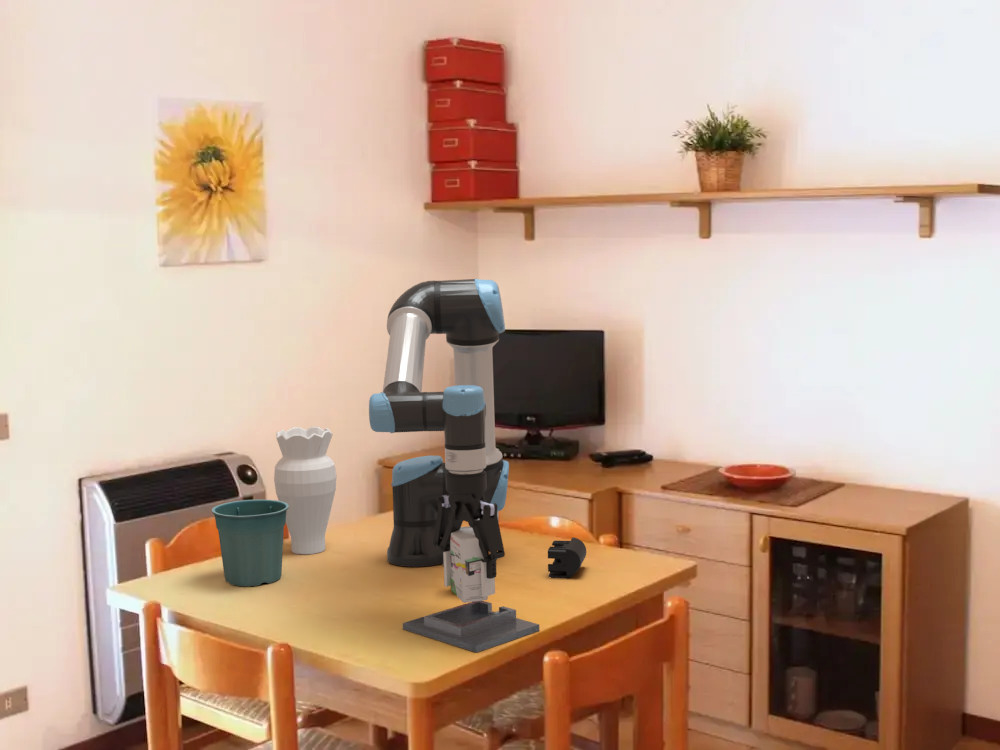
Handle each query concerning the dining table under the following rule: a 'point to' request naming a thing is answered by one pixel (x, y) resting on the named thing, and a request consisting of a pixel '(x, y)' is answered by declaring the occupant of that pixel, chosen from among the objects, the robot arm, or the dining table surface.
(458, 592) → the ink box
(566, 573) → the end cap
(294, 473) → the vase
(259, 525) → the flower pot
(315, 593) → the dining table surface
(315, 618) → the dining table surface
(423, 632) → the plate
